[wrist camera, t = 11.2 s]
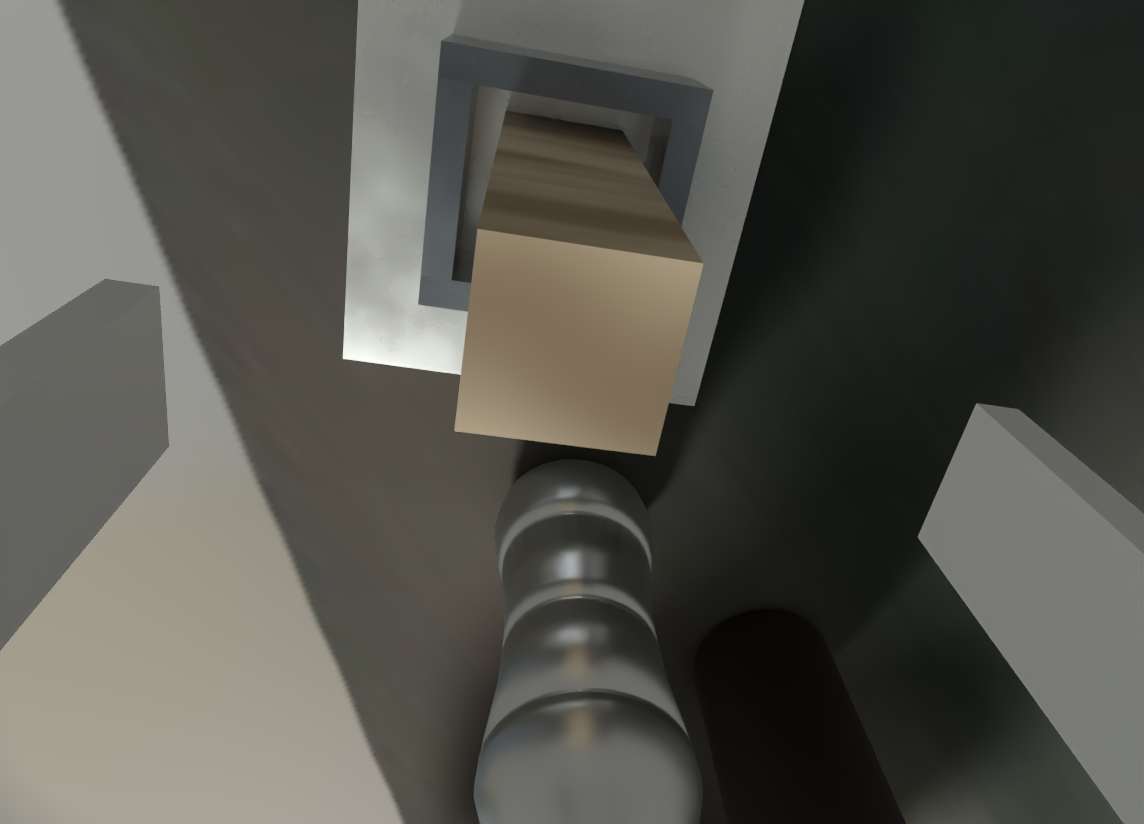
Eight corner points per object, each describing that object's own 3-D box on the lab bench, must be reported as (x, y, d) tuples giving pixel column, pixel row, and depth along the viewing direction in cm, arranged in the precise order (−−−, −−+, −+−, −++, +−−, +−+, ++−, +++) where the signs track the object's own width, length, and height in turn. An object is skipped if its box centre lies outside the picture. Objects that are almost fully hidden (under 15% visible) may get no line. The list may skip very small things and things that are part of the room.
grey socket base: (690, 395, 33) (711, 450, 29) (348, 348, 32) (321, 399, 28) (805, -39, 26) (854, -44, 22) (370, -129, 25) (338, -151, 21)
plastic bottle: (590, 582, 38) (639, 1102, 20) (467, 517, 36) (402, 1032, 18) (675, 487, 36) (814, 980, 18) (549, 411, 34) (565, 883, 16)
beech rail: (600, 243, 29) (655, 456, 16) (491, 226, 29) (454, 431, 16) (622, 130, 27) (703, 263, 14) (505, 110, 27) (477, 228, 14)
